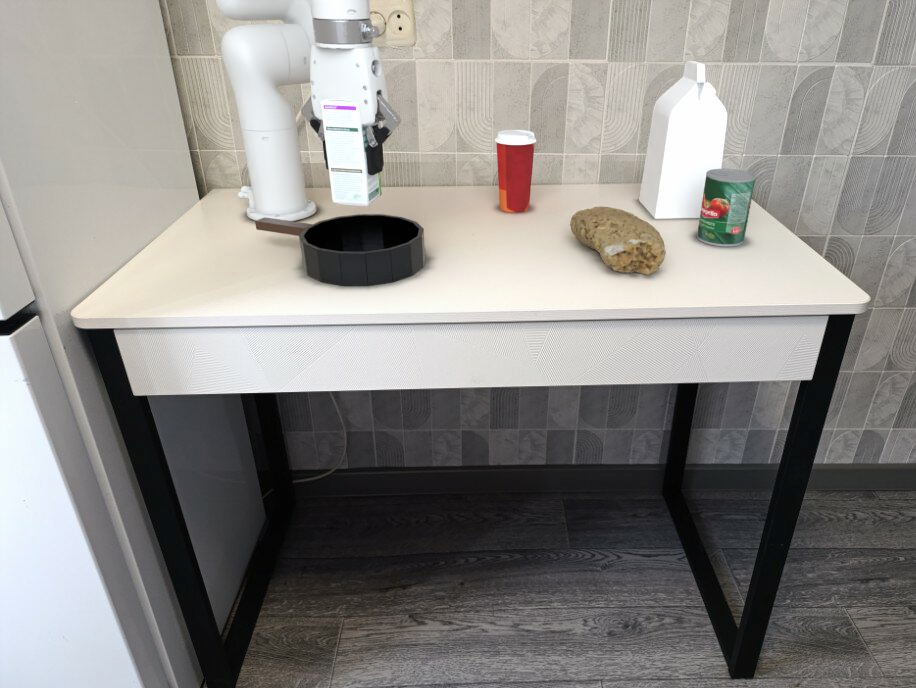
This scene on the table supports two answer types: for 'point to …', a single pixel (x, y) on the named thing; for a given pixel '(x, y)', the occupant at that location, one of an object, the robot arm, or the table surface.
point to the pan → (356, 247)
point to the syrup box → (348, 154)
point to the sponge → (620, 239)
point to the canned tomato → (725, 207)
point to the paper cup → (515, 169)
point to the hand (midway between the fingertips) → (354, 169)
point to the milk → (683, 146)
